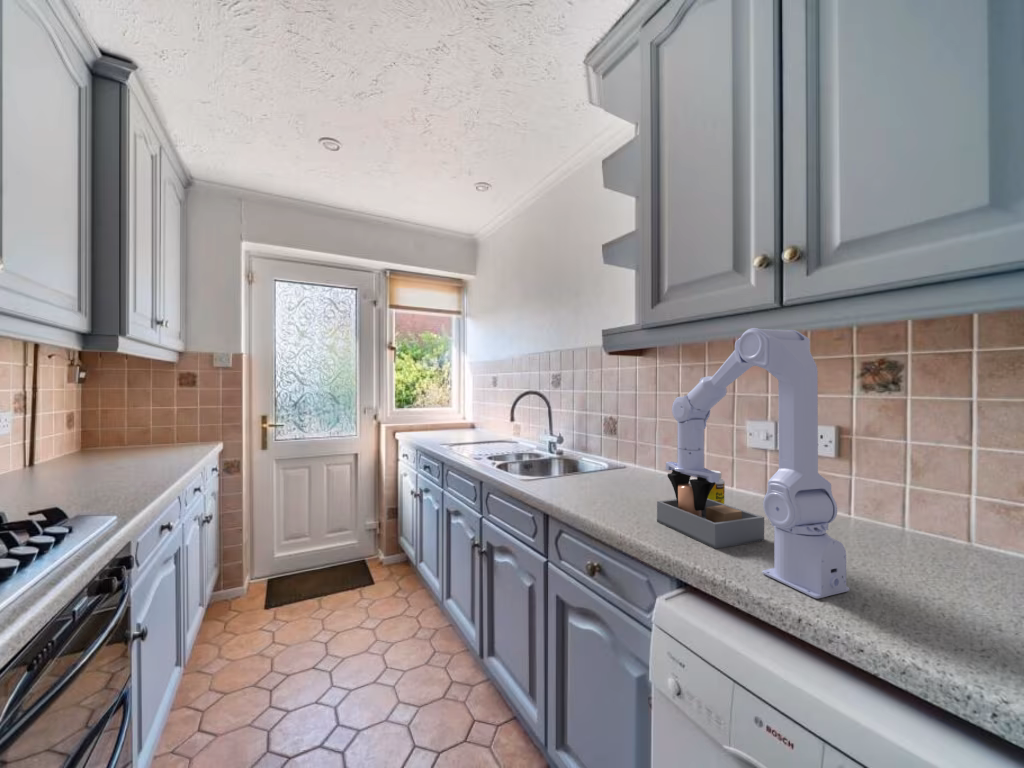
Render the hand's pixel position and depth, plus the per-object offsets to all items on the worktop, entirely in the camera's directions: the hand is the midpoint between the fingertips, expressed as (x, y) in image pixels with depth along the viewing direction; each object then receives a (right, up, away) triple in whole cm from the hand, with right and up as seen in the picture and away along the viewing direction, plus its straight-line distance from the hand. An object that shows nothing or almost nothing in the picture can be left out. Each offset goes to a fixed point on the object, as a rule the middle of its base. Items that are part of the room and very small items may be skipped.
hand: (690, 506), depth 96 cm
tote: (+3, -5, -2) cm, 6 cm away
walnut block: (+6, -4, -4) cm, 8 cm away
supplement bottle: (+12, -5, +14) cm, 19 cm away
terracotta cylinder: (0, -2, 0) cm, 2 cm away
